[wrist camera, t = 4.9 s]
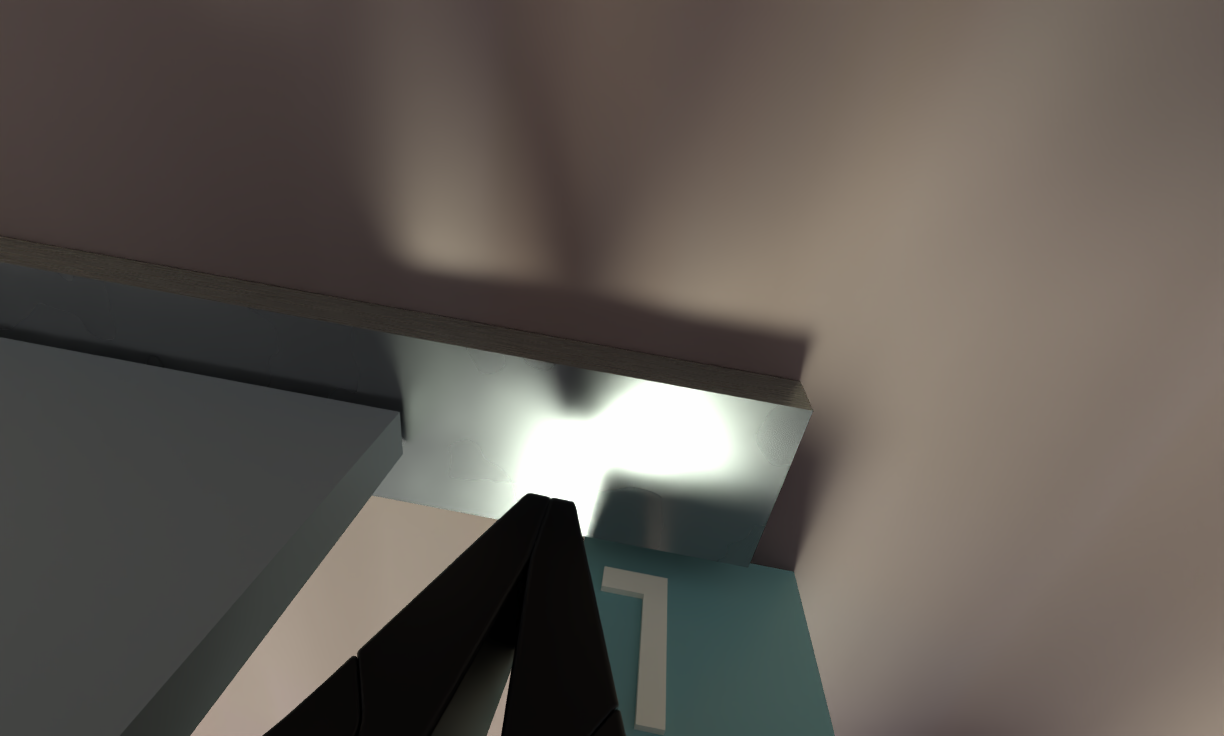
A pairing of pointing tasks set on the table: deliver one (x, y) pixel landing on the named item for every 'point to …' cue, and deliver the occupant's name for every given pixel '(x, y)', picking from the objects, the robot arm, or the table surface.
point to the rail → (452, 395)
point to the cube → (706, 645)
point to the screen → (158, 532)
